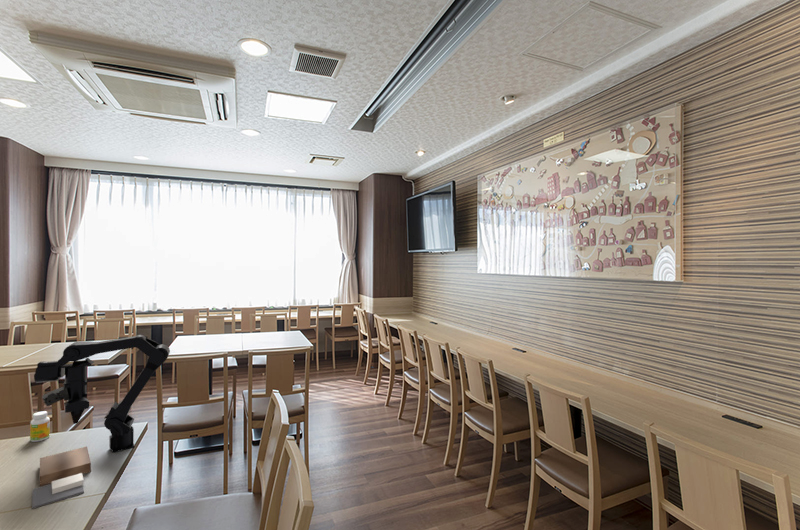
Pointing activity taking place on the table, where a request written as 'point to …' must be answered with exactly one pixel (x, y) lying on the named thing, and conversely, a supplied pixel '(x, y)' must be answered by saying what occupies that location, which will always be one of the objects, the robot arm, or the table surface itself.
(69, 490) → the mat
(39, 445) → the table surface
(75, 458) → the serving board
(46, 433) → the supplement bottle
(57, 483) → the white rectangular block
